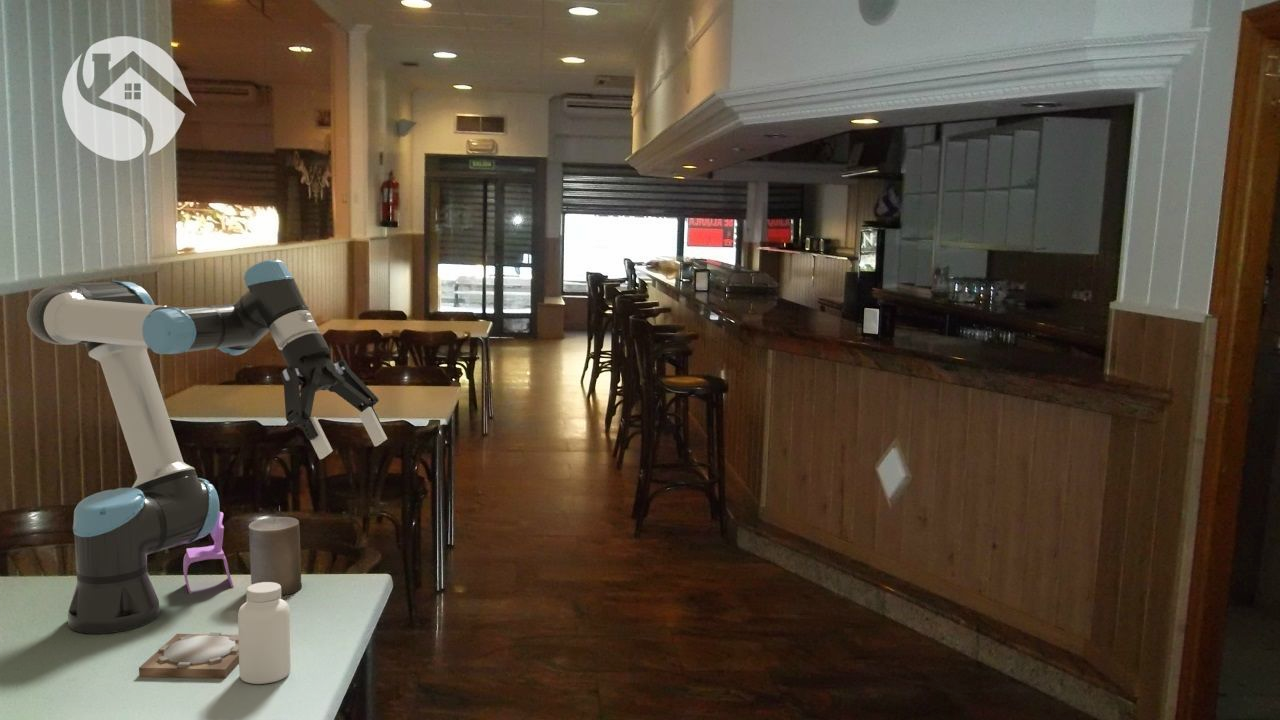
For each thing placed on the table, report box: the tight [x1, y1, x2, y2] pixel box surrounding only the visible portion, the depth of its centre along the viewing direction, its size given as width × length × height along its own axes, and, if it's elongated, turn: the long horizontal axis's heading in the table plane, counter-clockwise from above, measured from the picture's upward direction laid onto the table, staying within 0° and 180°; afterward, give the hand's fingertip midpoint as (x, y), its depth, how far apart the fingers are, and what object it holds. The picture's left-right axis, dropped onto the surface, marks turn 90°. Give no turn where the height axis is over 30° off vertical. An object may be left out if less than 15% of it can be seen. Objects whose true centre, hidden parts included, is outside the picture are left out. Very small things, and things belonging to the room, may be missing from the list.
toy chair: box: [182, 511, 234, 595], centre depth 210 cm, size 8×9×15 cm
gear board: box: [138, 632, 239, 679], centre depth 177 cm, size 14×14×2 cm
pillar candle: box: [248, 516, 303, 597], centre depth 209 cm, size 10×10×15 cm
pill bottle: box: [237, 582, 292, 685], centre depth 170 cm, size 8×8×15 cm
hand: (354, 448), depth 178 cm, fingers open, 13 cm apart
